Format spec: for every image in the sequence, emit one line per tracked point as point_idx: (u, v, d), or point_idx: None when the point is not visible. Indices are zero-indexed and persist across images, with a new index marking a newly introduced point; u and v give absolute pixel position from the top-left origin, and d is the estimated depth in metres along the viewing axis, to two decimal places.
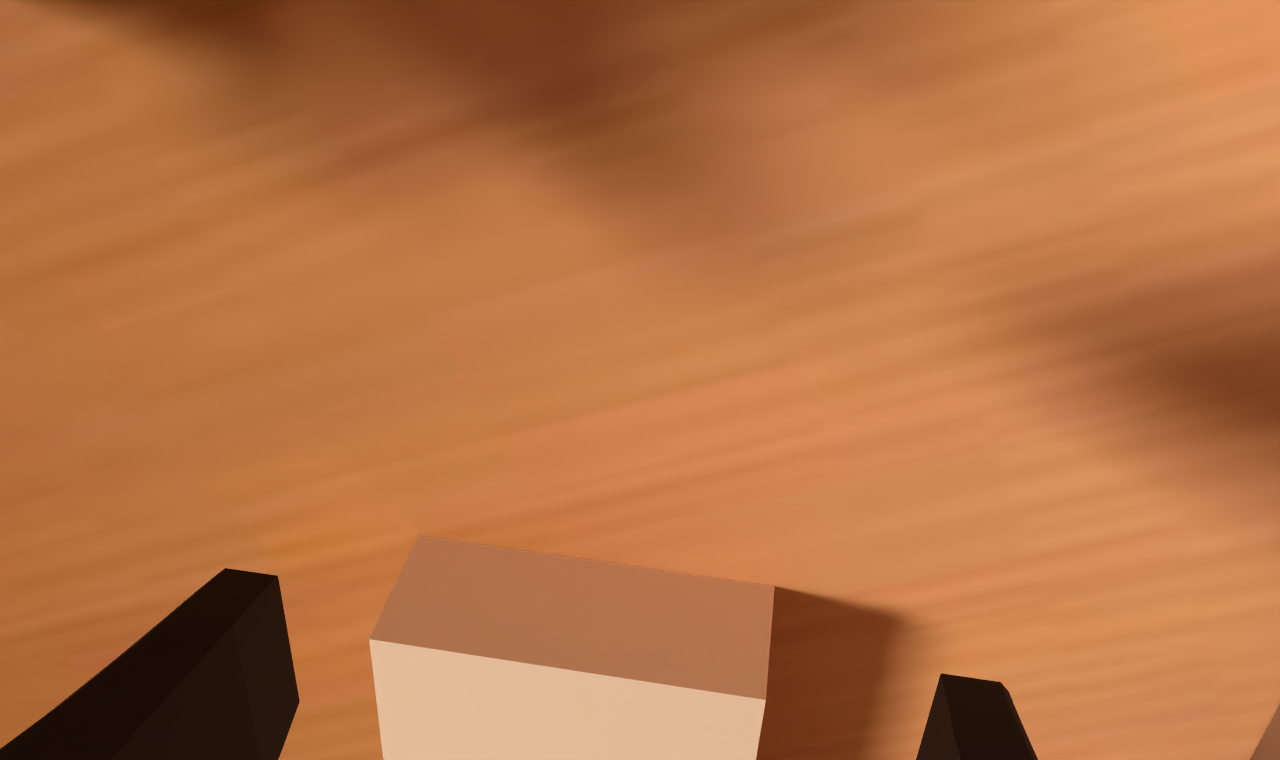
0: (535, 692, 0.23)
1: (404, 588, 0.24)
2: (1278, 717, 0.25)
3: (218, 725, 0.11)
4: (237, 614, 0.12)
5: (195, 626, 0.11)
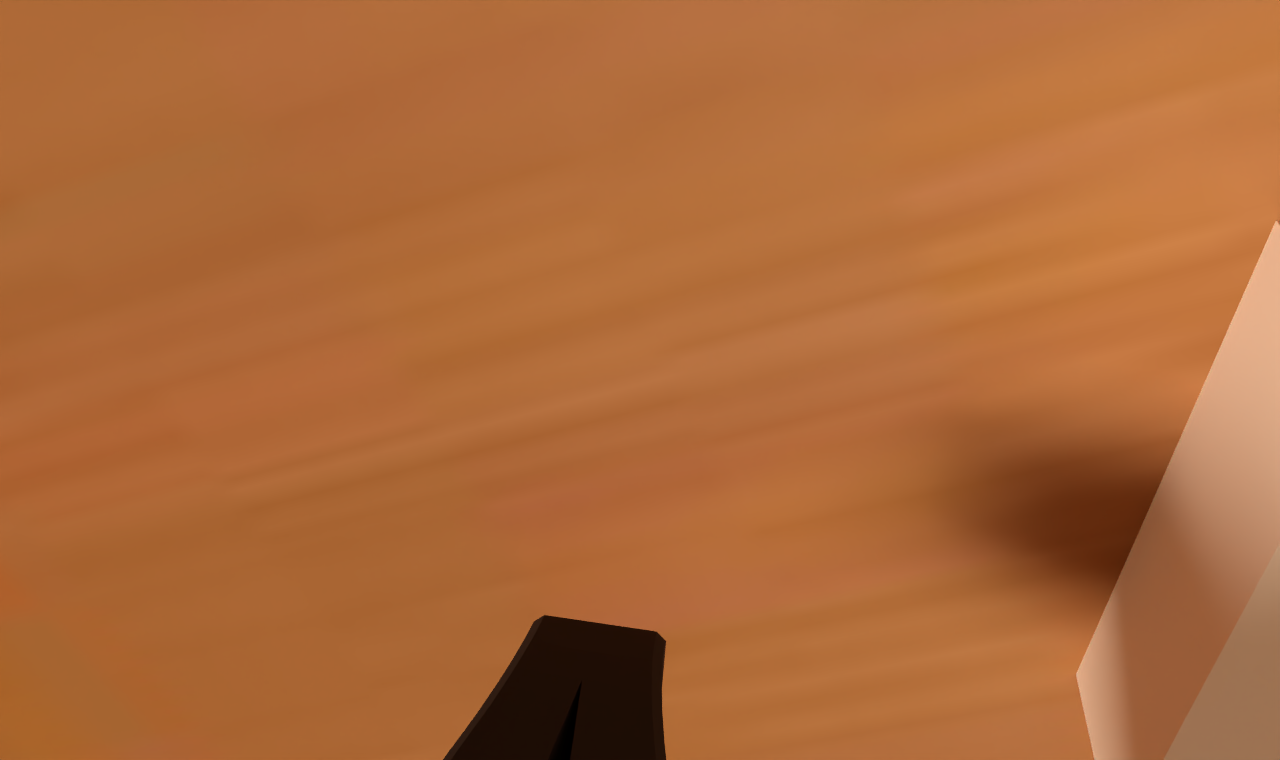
0: None
1: None
2: None
3: None
4: (579, 666, 0.11)
5: (545, 679, 0.11)
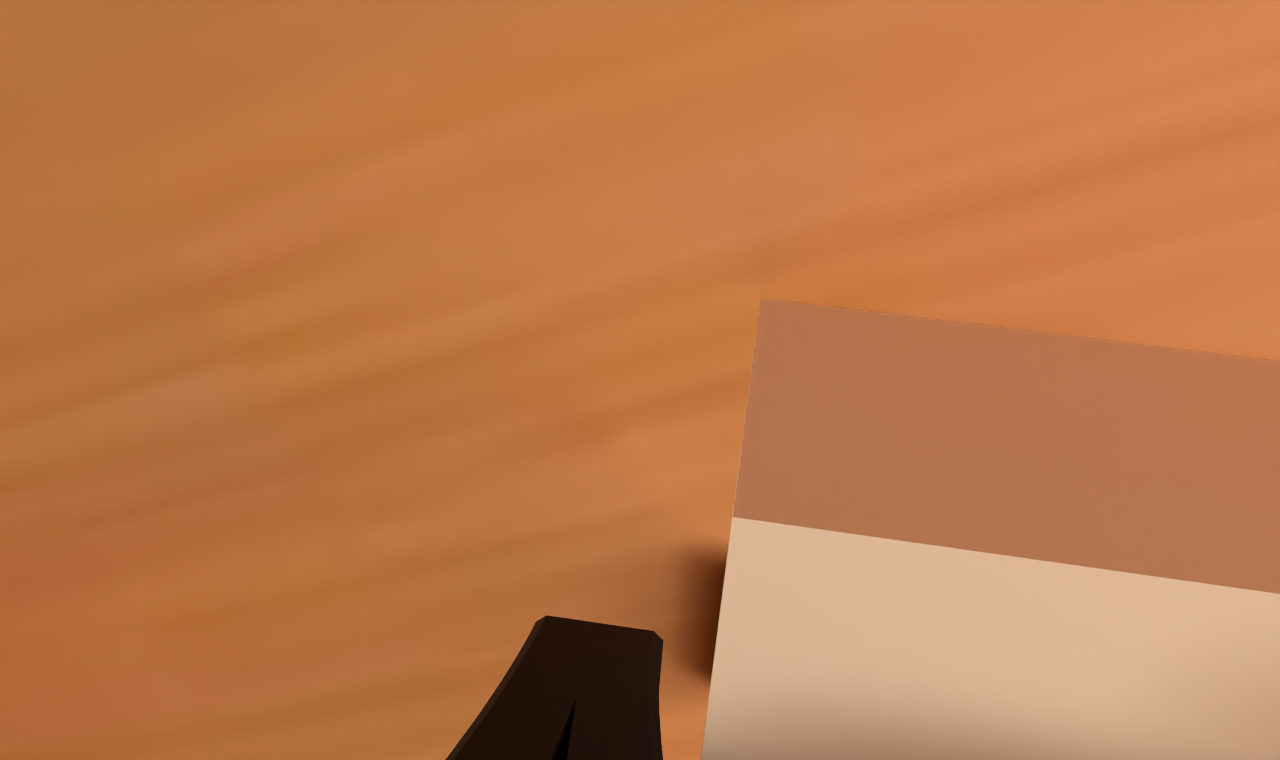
0: (1176, 664, 0.09)
1: (776, 406, 0.10)
2: None
3: None
4: (582, 666, 0.11)
5: (548, 680, 0.11)
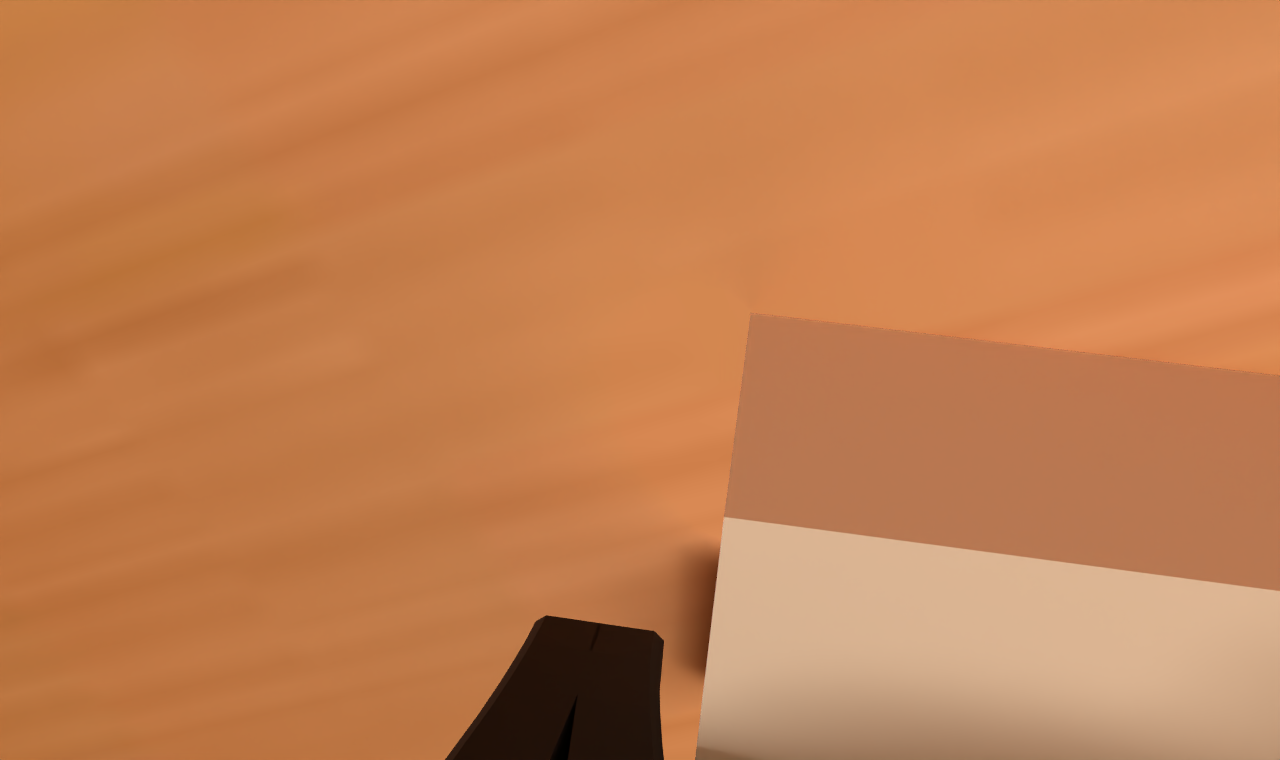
0: (1153, 656, 0.09)
1: (765, 408, 0.10)
2: None
3: None
4: (581, 666, 0.11)
5: (547, 680, 0.11)
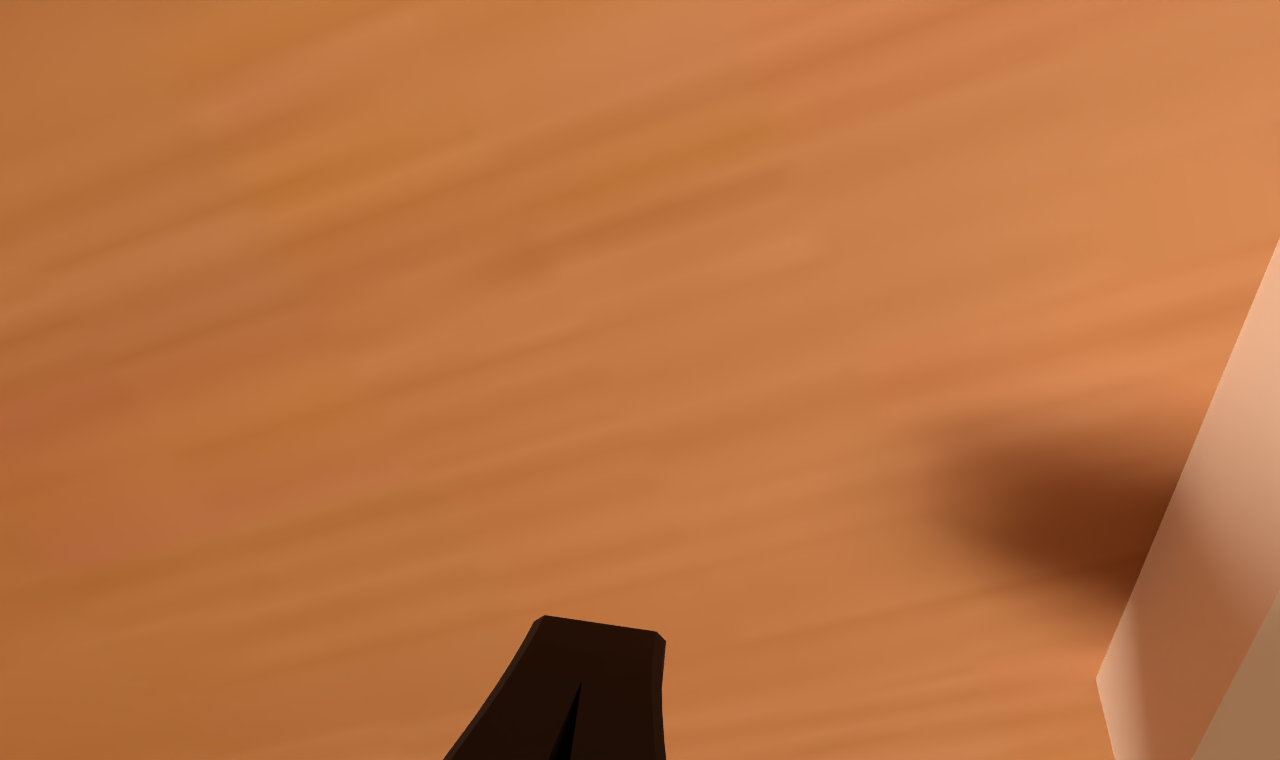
0: None
1: None
2: None
3: None
4: (579, 666, 0.11)
5: (545, 679, 0.11)
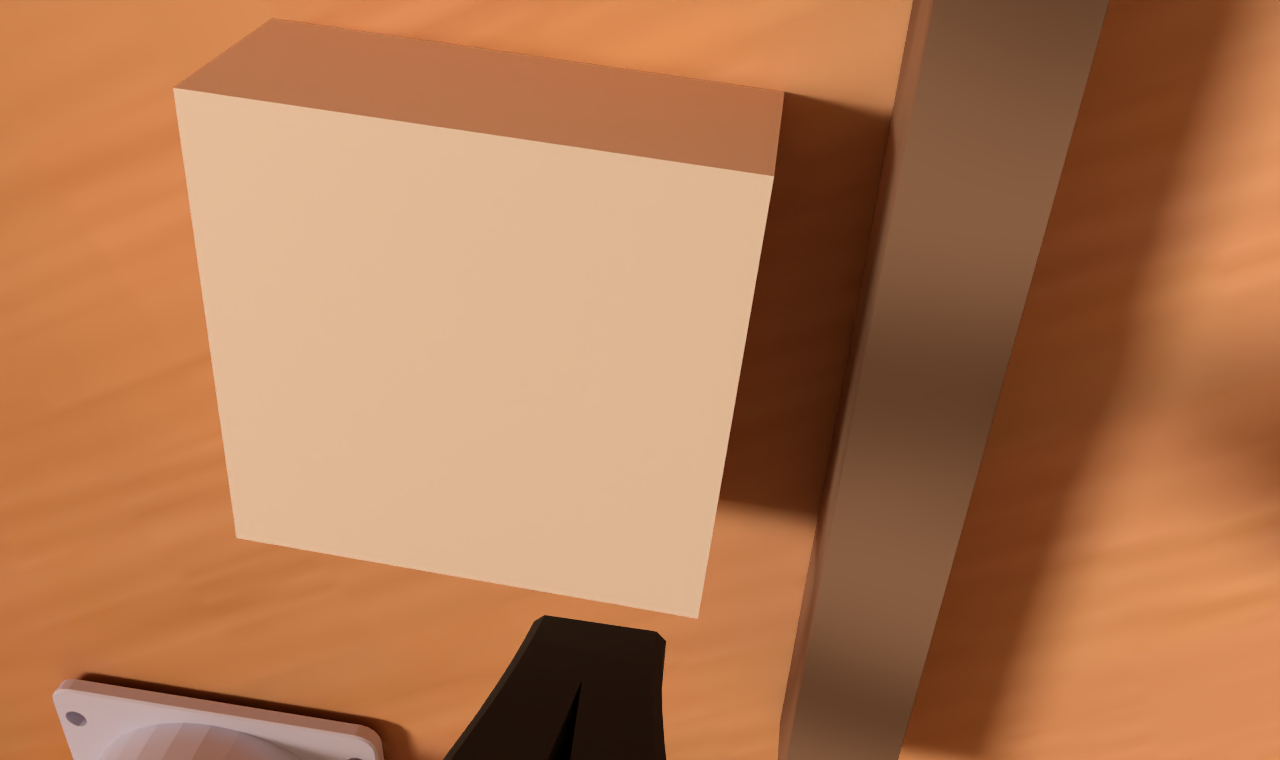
0: (425, 183, 0.15)
1: (239, 54, 0.16)
2: (877, 199, 0.18)
3: None
4: (580, 666, 0.11)
5: (545, 680, 0.11)
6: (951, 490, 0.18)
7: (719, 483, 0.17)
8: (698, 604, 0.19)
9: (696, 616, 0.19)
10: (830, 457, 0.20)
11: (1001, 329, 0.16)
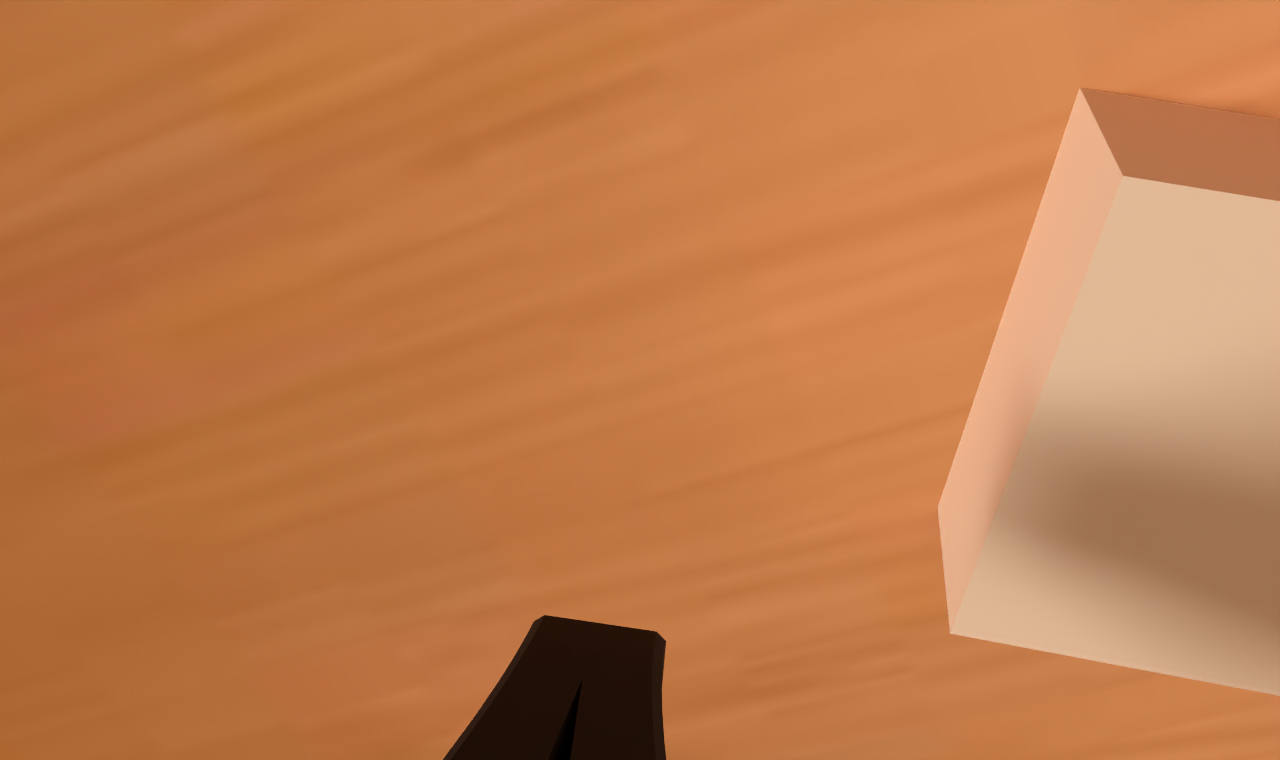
0: None
1: (1118, 133, 0.15)
2: None
3: None
4: (579, 666, 0.11)
5: (545, 680, 0.11)
6: None
7: None
8: None
9: None
10: None
11: None
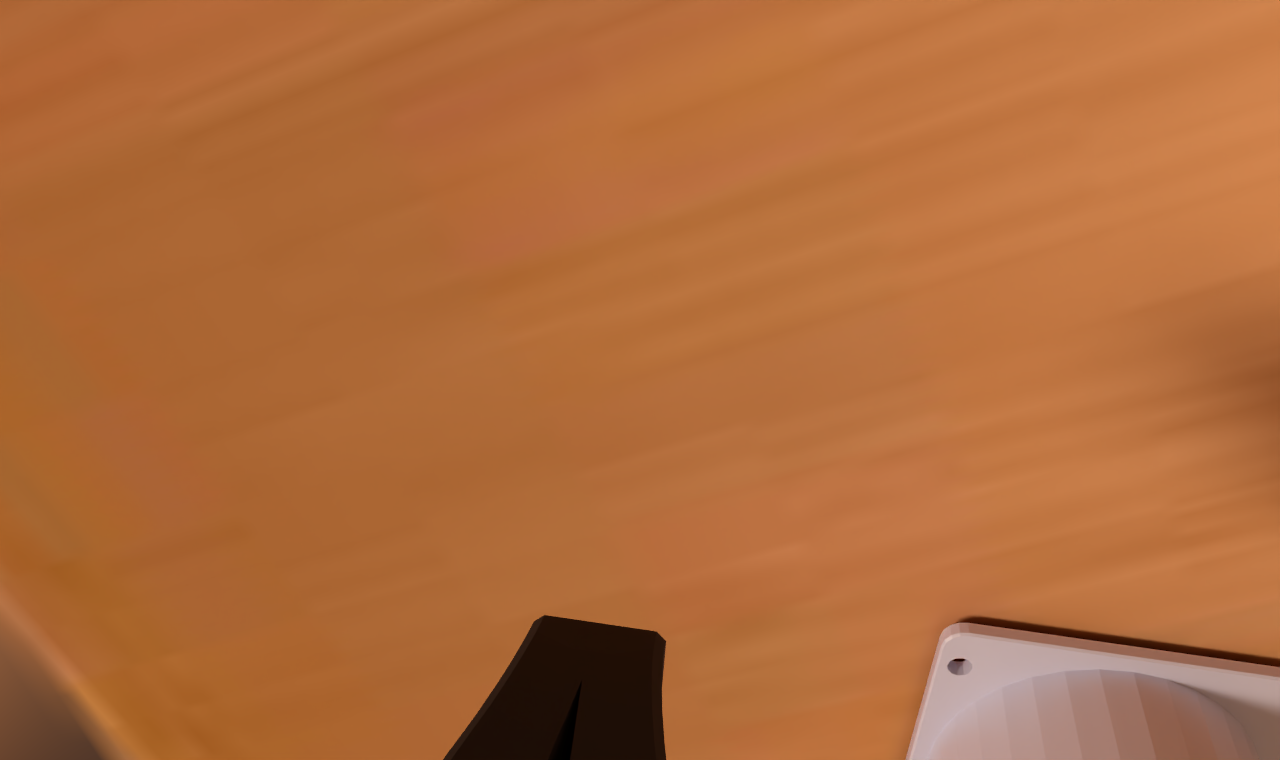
0: None
1: None
2: None
3: None
4: (580, 666, 0.11)
5: (545, 679, 0.11)
6: None
7: None
8: None
9: None
10: None
11: None
